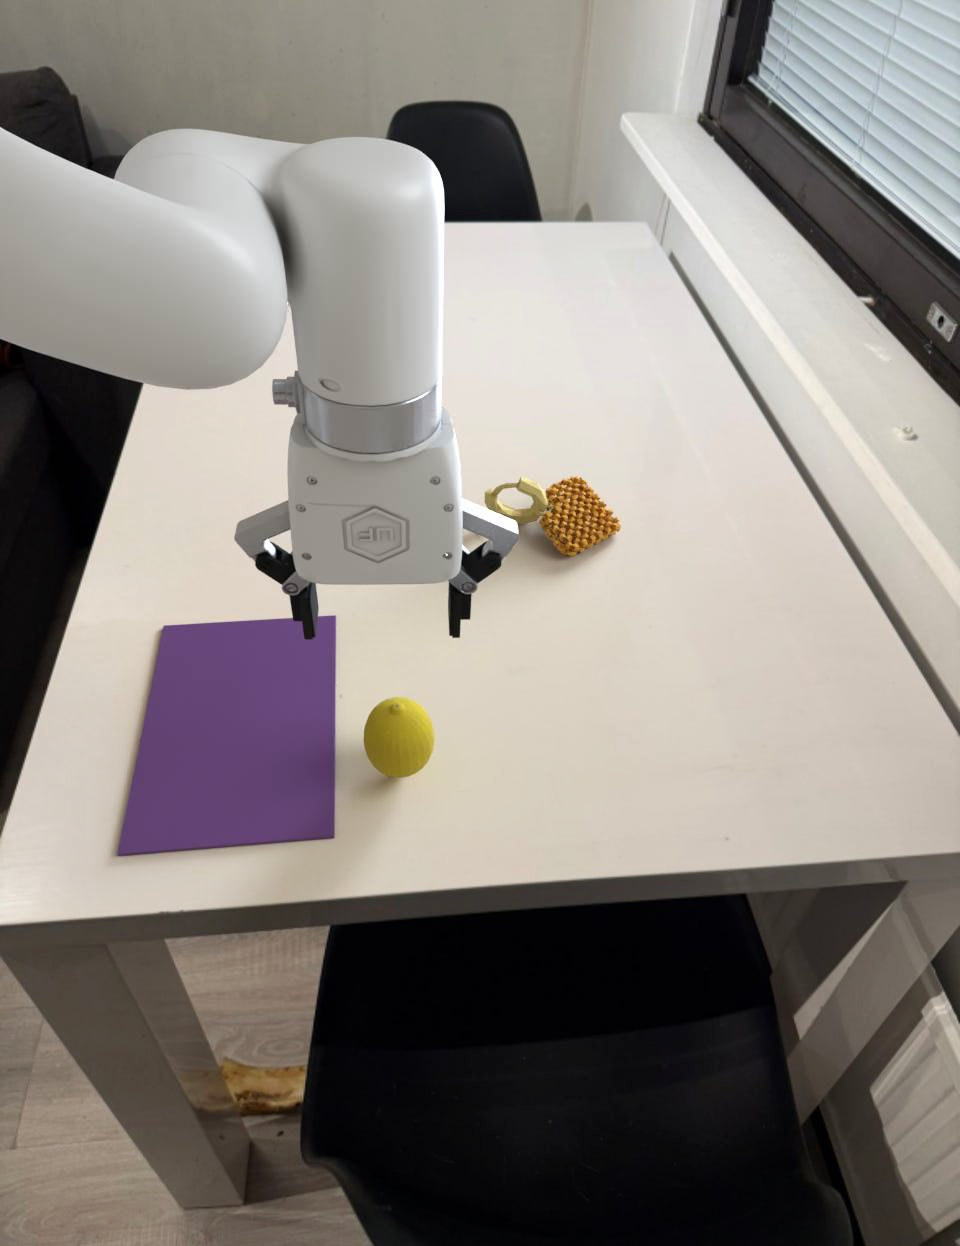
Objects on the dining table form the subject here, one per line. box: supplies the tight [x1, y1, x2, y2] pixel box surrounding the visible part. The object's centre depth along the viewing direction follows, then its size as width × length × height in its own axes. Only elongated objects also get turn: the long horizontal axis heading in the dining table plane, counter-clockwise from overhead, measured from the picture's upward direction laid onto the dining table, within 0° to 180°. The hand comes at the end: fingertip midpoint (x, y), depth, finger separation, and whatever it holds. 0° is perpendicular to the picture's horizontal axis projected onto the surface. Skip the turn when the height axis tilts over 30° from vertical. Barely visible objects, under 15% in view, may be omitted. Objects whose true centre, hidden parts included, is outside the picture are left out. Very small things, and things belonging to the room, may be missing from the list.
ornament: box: [484, 475, 622, 557], centre depth 92 cm, size 7×10×15 cm
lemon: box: [363, 696, 435, 779], centre depth 68 cm, size 6×6×8 cm
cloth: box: [117, 614, 337, 857], centre depth 74 cm, size 24×16×1 cm, turn 6°
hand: (383, 624), depth 59 cm, fingers open, 9 cm apart
